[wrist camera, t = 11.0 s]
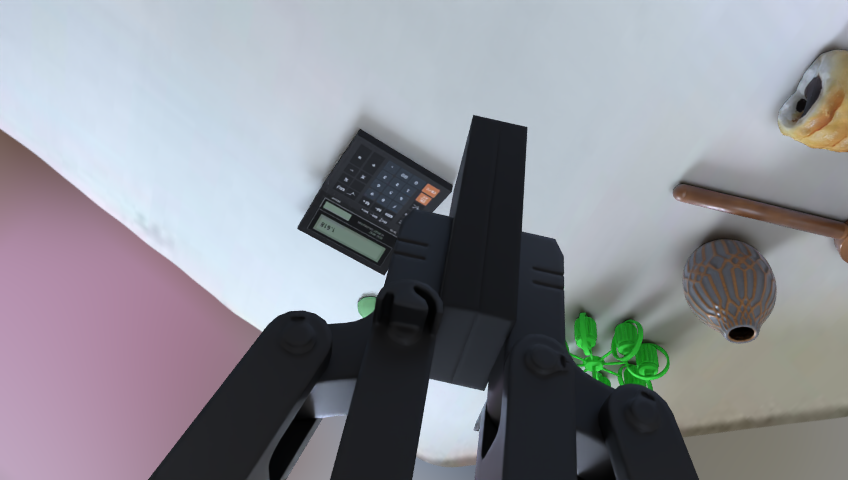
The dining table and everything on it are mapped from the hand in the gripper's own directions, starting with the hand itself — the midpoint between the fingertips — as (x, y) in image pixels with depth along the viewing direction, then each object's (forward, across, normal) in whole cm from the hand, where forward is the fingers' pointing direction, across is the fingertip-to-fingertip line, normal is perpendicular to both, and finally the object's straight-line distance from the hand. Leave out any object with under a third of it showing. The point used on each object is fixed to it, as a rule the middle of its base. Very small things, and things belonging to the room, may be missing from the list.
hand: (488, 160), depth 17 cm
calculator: (+26, -6, -26) cm, 38 cm away
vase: (+26, +25, -24) cm, 43 cm away
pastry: (+26, +25, -7) cm, 37 cm away
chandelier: (+26, +19, -41) cm, 52 cm away
